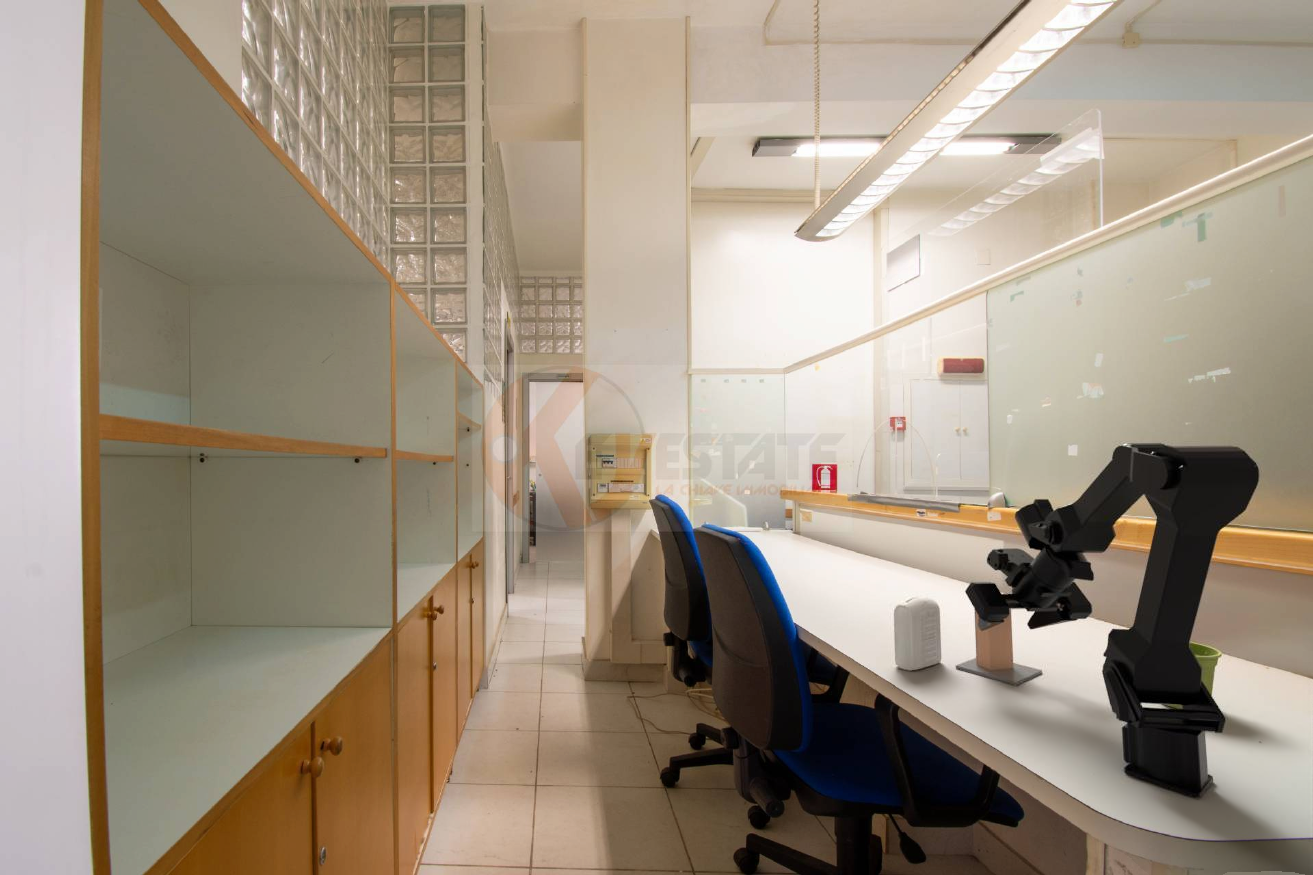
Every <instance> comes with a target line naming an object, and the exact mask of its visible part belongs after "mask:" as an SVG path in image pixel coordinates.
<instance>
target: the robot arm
mask: <svg viewBox="0 0 1313 875" xmlns="http://www.w3.org/2000/svg"><path fill="white" fill-rule="evenodd" d="M1111 457H1112V459H1111V460H1110V461H1109V463H1108V464H1106V466H1105V467H1104V468H1103V469H1102V471H1101V472H1099V474H1098V476H1096V478H1095V479H1094V480H1093V481H1092V482H1091V483H1090V484H1089V486H1088V487H1087V488H1086V489H1085V491H1084V492H1083V493H1082V494H1081V496H1079V498H1078V499H1077V500H1075V501H1074V502H1071V503H1069V504H1068V503H1067V504H1065V505H1063V506H1059V507H1057V508H1055V509H1054V508H1053V505H1052V503H1051V502H1050V500H1049V499H1048V498H1042V499H1041V498H1038V499H1037V498H1036V499H1035V498H1034V501H1033V502H1032V503H1029V504H1027V505H1025V506H1024V505H1023V507H1020V508H1019V510H1016V512H1015V514H1014V520H1015V522H1016V524H1017V525H1018V527H1019V530H1020V532H1021V534H1022V535H1023V537H1024V540H1025V541H1026V543H1027V545H1028V547H1029V549H1031V550H1032V549H1033V550H1036V551H1039V552H1038V553H1037V555H1036V557H1033V556H1031V555H1030V554H1029V553H1028V552H1026V551H1025V550H1023V549H1021V548H1017V547H1016V548H995V549H992V550H991V551H990V552H989V553H988V554H987V558H986V563H987V565H988V566H990V568H992V570H994V571H1000V572H1001V573H1002V574H1003V575H1005V576H1006V578H1005V579H1004V581H1005V584H1007V586H1008V587H1011V588H1012V589H1011V593H1002V592H1001V591H1000V589H999V587H998V586H997V584H996V583H995V582H991V581H978V582H977V581H975V582H973V581H972V582H970V583H969V584H968V586H967V588H966V589H965V591H964V592H965V594H966V597H967V598H968V600H969V601H970V604H971V605H972V607H973V608H974V611H975V610H976V612H977V614H978V616H979V617H978V627H979V629H980V630H981V631H983V630H986V629H989V628H991V627H994V626H996V625H998V624H1001V623H1003V622H1004V620H1003V619H1005V618H1007V617H1008V616H1009V614H1010V613H1009V609H1011V610H1026V611H1027V612H1029V613H1030V612H1033V614H1032V615H1031V617H1030V618H1029V620H1028V622H1027V623H1026V624H1027V627H1028V628H1029V630H1036V629H1041V628H1044V627H1045V628H1046V627H1048V626H1050V627H1051V626H1055V625H1059V624H1063V623H1068V622H1069V623H1070V622H1076V621H1077V620H1086V619H1087V618H1089V616H1090V615H1091V614H1092V613H1093V604H1092V603H1091V602H1090V600H1089V599H1088V598H1087V596H1086V595H1085V594H1084V592H1083V591H1082V590H1081V589H1080V587H1079V586H1078V584H1076V582H1075V580H1081V581H1090V582H1094V580H1095V573H1094V571H1093V570H1092V563H1091V562H1090V561H1088V558H1086V556H1085V555H1084V554H1103V553H1105V552H1106V551H1107V549H1108V548H1109V547H1110V545H1111V544H1112V542H1113V541H1114V540H1115V538H1116V536H1117V534H1116V531H1115V527H1114V525H1115V524H1116V523H1117V521H1118V520H1120V518H1121V517H1123V515H1125V513H1126V512H1127V511H1128V510H1129V509H1131V507H1132V506H1133V505H1135V503H1137V501H1138V500H1140V499H1141V498H1142V497H1143V496H1144V497H1145V498H1146V500H1147V502H1148V504H1149V506H1150V508H1151V509H1152V510H1153V513H1154V515H1155V516H1156V521H1155V526H1154V532H1153V536H1152V540H1151V545H1150V548H1149V554H1148V557H1147V563H1146V568H1145V571H1144V575H1143V581H1142V585H1141V589H1140V594H1139V597H1138V603H1137V607H1136V612H1135V617H1134V620H1133V625H1132V626H1131V627H1130V628H1128V629H1127V628H1112V629H1111V630H1110V631H1109V633H1108V635H1107V644H1106V649H1105V651H1104V652H1103V653H1102V654H1103V655H1102V656H1103V657H1104V658H1105V659H1104V660H1105V661H1104V663H1103V665H1102V670H1101V674H1102V678H1103V682H1104V684H1105V685H1104V686H1105V690H1106V693H1107V697H1108V698H1107V699H1108V701H1109V705H1110V707H1111V708H1110V709H1111V712H1113V714H1114V715H1115V716H1116V719H1117V720H1118V721H1120V722H1124V723H1126V724H1124V725H1123V726H1122V727H1121V734H1122V736H1121V737H1122V752H1123V753H1122V754H1123V761H1124V762H1125V764H1127V765H1126V766H1124V767H1123V769H1124V770H1123V771H1124V773H1125V774H1127V775H1129V776H1133V777H1135V778H1137V779H1138V778H1139V779H1140V780H1144V781H1146V782H1149V783H1153V784H1154V785H1158V786H1161V787H1164V788H1166V789H1170V790H1172V791H1173V790H1174V791H1175V792H1178V793H1181V794H1184V795H1187V796H1190V797H1194V798H1198V799H1200V798H1201V797H1202V796H1203V795H1204V794H1205V792H1206V791H1207V790H1208V788H1209V787H1210V786H1211V785H1212V784H1213V783H1214V777H1213V775H1212V774H1209V771H1208V770H1209V769H1208V757H1207V742H1206V741H1207V740H1206V732H1210V733H1213V732H1214V733H1216V734H1222V733H1223V730H1224V727H1225V724H1226V717H1225V715H1224V713H1223V712H1222V710H1221V708H1220V707H1219V705H1218V704H1217V702H1216V701H1215V699H1214V697H1213V695H1212V696H1211V694H1210V693H1209V691H1208V690H1207V688H1206V686H1205V685H1204V683H1203V682H1202V680H1201V679H1202V667H1201V665H1200V663H1199V662H1198V660H1197V658H1196V656H1195V655H1194V653H1193V651H1192V650H1191V648H1190V642H1191V639H1192V634H1193V631H1194V628H1195V624H1196V620H1197V616H1198V611H1199V607H1200V604H1201V601H1202V596H1203V593H1204V589H1205V585H1206V582H1207V577H1208V573H1209V570H1210V565H1211V561H1212V558H1213V554H1214V551H1215V546H1216V542H1217V539H1218V535H1219V533H1220V531H1221V530H1223V529H1224V528H1226V526H1227V525H1229V524H1230V523H1231V522H1233V521H1234V520H1236V519H1237V517H1239V516H1240V515H1242V514H1243V513H1244V512H1245V511H1246V510H1247V508H1248V506H1249V504H1250V502H1251V500H1252V498H1253V496H1254V494H1255V492H1256V490H1257V487H1258V485H1259V481H1260V468H1259V467H1258V464H1257V462H1256V461H1255V460H1254V459H1253V458H1251V457H1250V455H1249V454H1248V453H1247V452H1246V451H1245V450H1244V449H1242V448H1241V447H1238V446H1234V445H1191V446H1190V445H1179V446H1178V445H1175V446H1173V445H1169V444H1168V445H1167V444H1166V445H1165V444H1164V443H1161V442H1151V443H1150V442H1139V443H1137V442H1136V443H1131V442H1130V443H1124V444H1122V445H1118V446H1117V447H1115V449H1114V450H1113V451H1112V456H1111ZM1142 704H1152V705H1153V704H1154V705H1164V704H1167V705H1182V707H1183V709H1176V708H1166V707H1165V708H1164V707H1163V708H1162V707H1145V706H1143V705H1142ZM1167 705H1166V706H1167Z"/></svg>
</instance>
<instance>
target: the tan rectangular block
mask: <svg viewBox="0 0 1313 875" xmlns="http://www.w3.org/2000/svg"><path fill="white" fill-rule="evenodd" d="M1009 613H1010V614H1009V616H1008V617H1007V618H1005V619H1003V620H1004V622H1003V623H1001V624H998V625H996V626H994V627H991V628H989V629H986V630H983V631H981V630H980V629H979V627H978V617H979V616H978V614H977V612H976V610H975V609H974V627H975V628H974V629H975V634H974V635H975V658H976V662H977V665H979V666H982V667H984V668H986V669H989V670H996V669H1006V668H1013V663H1014V649H1013V646H1014V645H1013V626H1012V625H1013V622H1012V609H1009Z"/></svg>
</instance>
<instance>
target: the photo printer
mask: <svg viewBox="0 0 1313 875" xmlns="http://www.w3.org/2000/svg"><path fill="white" fill-rule="evenodd" d="M893 626H894V628H893V632H894V633H893V634H894V661H895V662H894V663H895V665H896V666H897V667H898V668H899V669H901V670H905V671H910V672H911V671H916V670H921V669H924V668H927V667H930V666H933V665H937V664H939V663H941V661H942V639H941V636H942V634H941V633H942V632H941V609H940V606H939V604H938V602H937V601H936V600H935V599H933V598H931V597H928V596H923V595H914V596H913V595H912V596H910V597H908V598H906V599H903V600H902V601H900V602H899V603H898V604H897V605H896V606H895V608H894V611H893Z"/></svg>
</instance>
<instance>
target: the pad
mask: <svg viewBox="0 0 1313 875" xmlns="http://www.w3.org/2000/svg"><path fill="white" fill-rule="evenodd" d="M955 669H957V670H961V671H964V672H967V673H972V674H974V675H978V676H981V677H986V678H989V679H993V680H996V681H1000V682H1004V683H1008V684H1011V685H1014V686H1017V685H1020V684H1023V683H1024V682H1026V681H1028V680H1031V679H1033V678H1035V677H1037V676H1039V675H1041V674H1042V673H1043V670H1042V669H1039V668H1035V667H1030V666H1027V665H1023V664H1018V663H1017V662H1015V663H1014V662H1013V668H1006V669H996V670H989V669H986V668H984V667H982V666H979V665H977V662H976V657H974V658H972V659H969V660H967V661H964V662H962V663H959V664H957V665H955Z"/></svg>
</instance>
